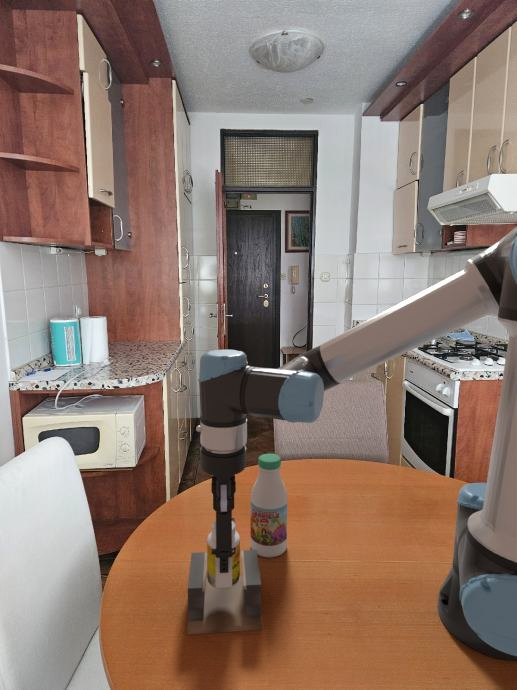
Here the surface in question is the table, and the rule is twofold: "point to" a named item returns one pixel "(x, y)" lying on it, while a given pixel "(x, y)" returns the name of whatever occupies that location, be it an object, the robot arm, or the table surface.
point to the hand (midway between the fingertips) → (223, 572)
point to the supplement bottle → (212, 558)
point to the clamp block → (224, 598)
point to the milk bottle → (269, 509)
